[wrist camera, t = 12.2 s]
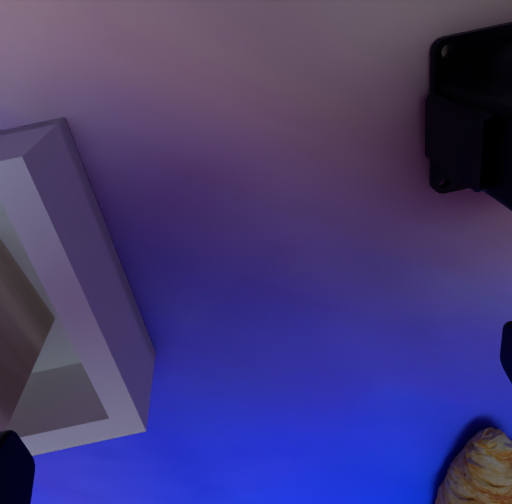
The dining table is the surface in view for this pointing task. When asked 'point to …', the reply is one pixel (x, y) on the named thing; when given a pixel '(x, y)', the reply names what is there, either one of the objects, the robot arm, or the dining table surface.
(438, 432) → the dining table surface
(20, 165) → the box
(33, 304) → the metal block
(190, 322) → the dining table surface
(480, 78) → the robot arm
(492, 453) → the croissant
